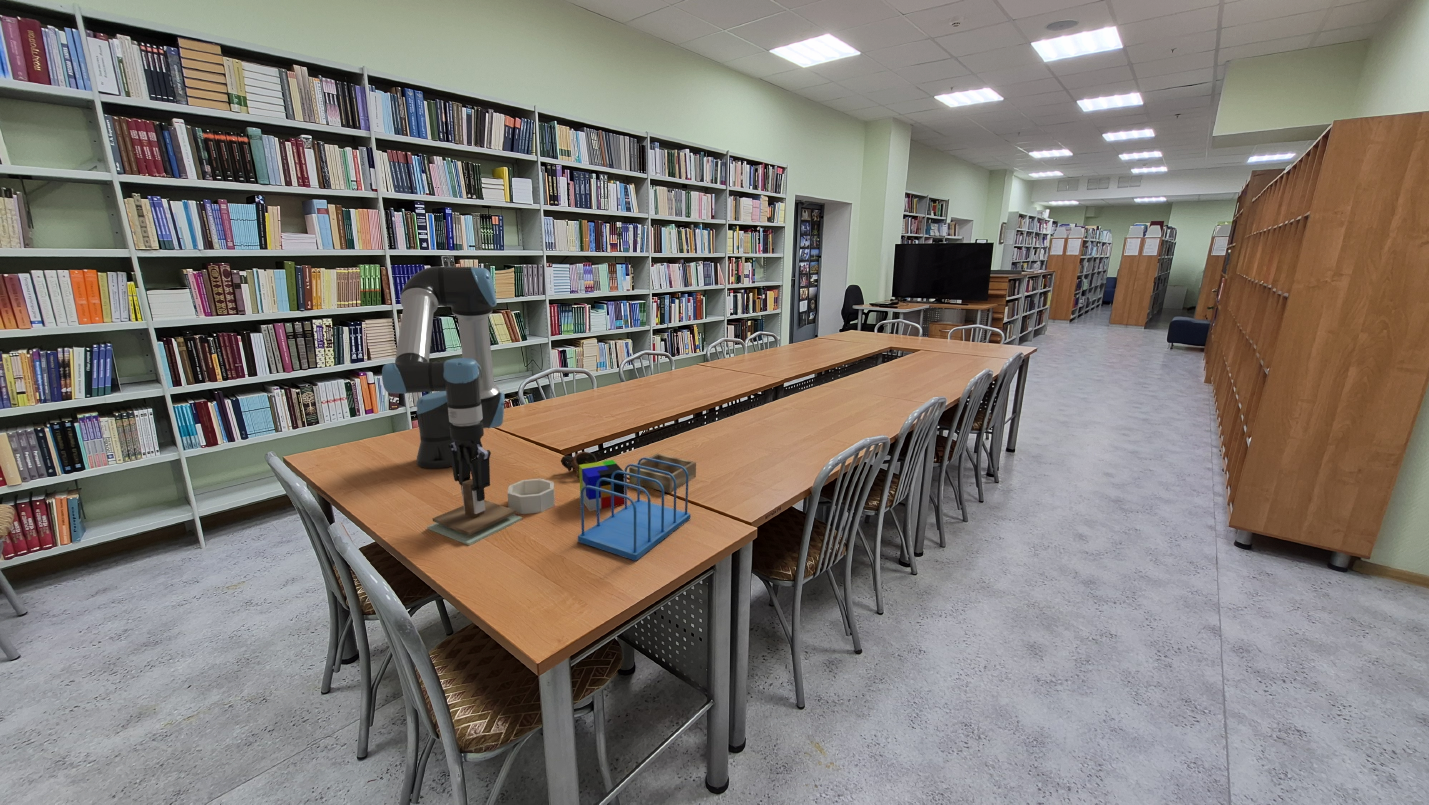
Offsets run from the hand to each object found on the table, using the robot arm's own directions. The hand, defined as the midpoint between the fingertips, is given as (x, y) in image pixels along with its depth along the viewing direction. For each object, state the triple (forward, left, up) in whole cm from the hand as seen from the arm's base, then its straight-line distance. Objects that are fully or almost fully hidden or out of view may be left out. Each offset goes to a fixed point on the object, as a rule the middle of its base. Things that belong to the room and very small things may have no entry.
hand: (474, 509), depth 138 cm
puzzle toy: (+18, +28, -4) cm, 34 cm away
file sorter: (+37, +19, -4) cm, 42 cm away
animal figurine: (-1, +40, -4) cm, 40 cm away
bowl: (+3, +16, -4) cm, 17 cm away
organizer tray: (+24, +50, -4) cm, 56 cm away
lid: (0, 0, -2) cm, 2 cm away
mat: (0, 0, -4) cm, 4 cm away
